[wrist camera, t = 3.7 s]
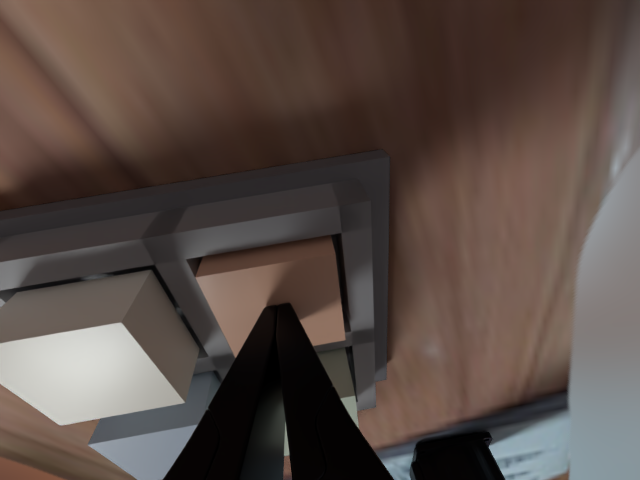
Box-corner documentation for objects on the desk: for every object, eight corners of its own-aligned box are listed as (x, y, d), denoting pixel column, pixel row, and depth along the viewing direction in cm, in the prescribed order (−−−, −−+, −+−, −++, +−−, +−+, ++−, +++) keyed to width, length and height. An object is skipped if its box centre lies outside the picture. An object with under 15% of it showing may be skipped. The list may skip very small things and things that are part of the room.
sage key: (344, 347, 12) (355, 395, 10) (350, 395, 14) (360, 441, 12) (249, 364, 12) (244, 416, 10) (270, 410, 14) (269, 458, 12)
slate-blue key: (212, 370, 12) (202, 423, 10) (240, 416, 14) (235, 465, 12) (115, 388, 12) (87, 445, 10) (158, 431, 14) (142, 482, 12)
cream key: (151, 269, 9) (120, 322, 7) (199, 348, 11) (185, 402, 9) (16, 292, 8) (-47, 351, 7) (93, 367, 11) (60, 425, 9)
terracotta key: (326, 218, 10) (335, 253, 8) (336, 300, 12) (345, 340, 10) (209, 238, 10) (195, 277, 8) (242, 316, 12) (236, 359, 10)
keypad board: (382, 149, 10) (408, 176, 8) (382, 366, 17) (395, 408, 15) (-42, 217, 9) (-129, 264, 7) (146, 409, 17) (128, 458, 15)
